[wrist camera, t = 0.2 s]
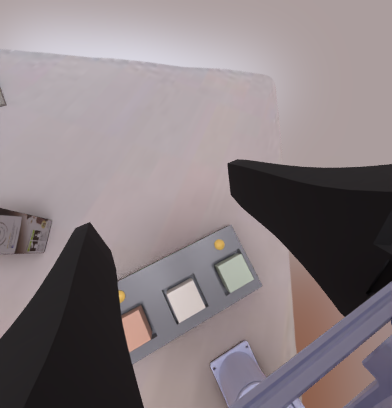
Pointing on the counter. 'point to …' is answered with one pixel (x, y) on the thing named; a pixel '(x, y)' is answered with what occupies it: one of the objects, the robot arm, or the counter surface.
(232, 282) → the sage key
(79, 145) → the counter surface
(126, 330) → the terracotta key
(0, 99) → the skyscraper
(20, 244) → the coffee box
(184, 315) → the cream key
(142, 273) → the keypad
